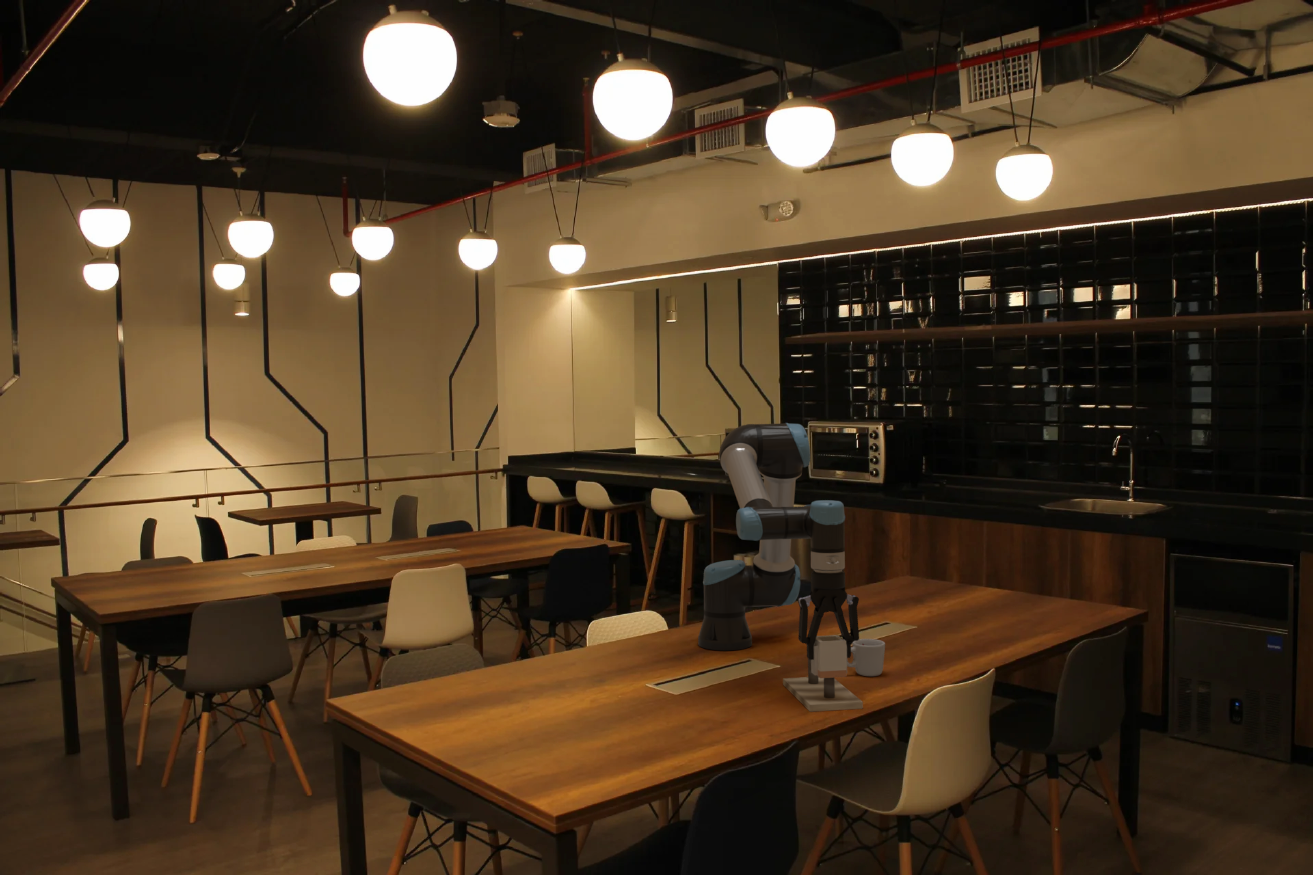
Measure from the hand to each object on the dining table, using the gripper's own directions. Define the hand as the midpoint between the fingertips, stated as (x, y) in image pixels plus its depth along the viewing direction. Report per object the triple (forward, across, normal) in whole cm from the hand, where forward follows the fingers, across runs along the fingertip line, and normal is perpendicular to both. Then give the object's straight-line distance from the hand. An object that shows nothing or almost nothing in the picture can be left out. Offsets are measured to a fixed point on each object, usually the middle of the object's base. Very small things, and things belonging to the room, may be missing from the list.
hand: (829, 672), depth 224 cm
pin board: (+7, 0, +6) cm, 9 cm away
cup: (+7, +16, +22) cm, 28 cm away
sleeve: (0, 0, 0) cm, 0 cm away
